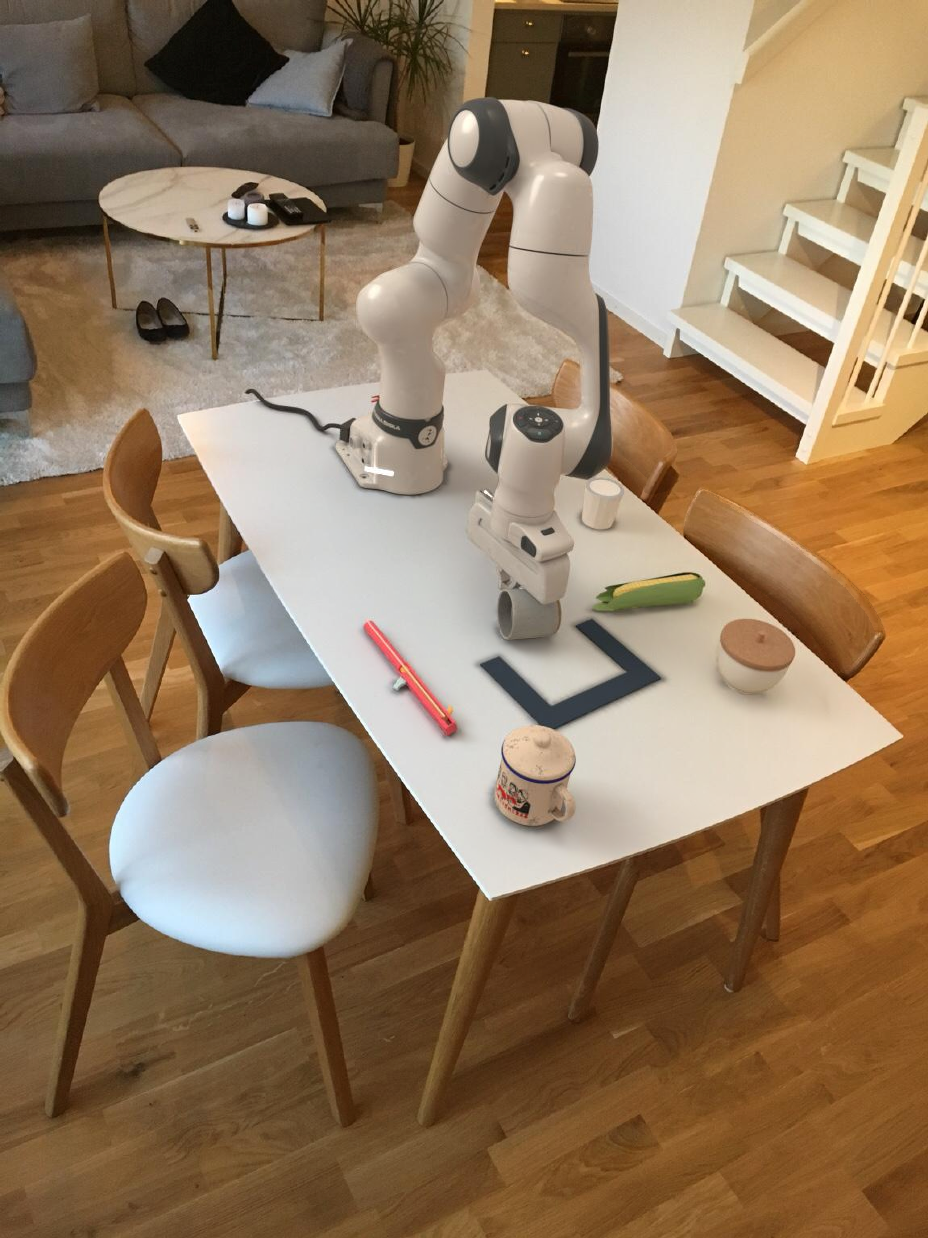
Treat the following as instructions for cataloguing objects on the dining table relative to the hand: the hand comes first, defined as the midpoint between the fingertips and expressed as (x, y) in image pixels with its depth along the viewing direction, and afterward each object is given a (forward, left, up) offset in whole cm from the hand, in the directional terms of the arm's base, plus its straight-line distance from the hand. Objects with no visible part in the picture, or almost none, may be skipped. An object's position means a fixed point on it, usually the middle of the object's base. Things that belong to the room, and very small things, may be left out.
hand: (507, 592), depth 153 cm
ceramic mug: (+4, 0, -4) cm, 6 cm away
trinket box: (+30, +22, -4) cm, 38 cm away
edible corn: (+9, +22, -4) cm, 24 cm away
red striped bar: (+6, -23, -4) cm, 24 cm away
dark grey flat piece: (+16, 0, -4) cm, 16 cm away
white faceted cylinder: (-13, +31, -4) cm, 34 cm away
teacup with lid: (+33, -21, -4) cm, 40 cm away
